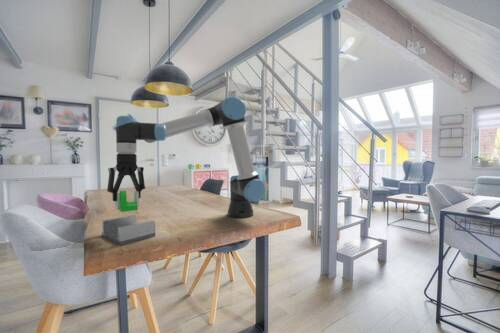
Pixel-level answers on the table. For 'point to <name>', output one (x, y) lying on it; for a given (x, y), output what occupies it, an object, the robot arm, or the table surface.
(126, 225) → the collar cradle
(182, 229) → the table surface
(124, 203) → the mechanical part
